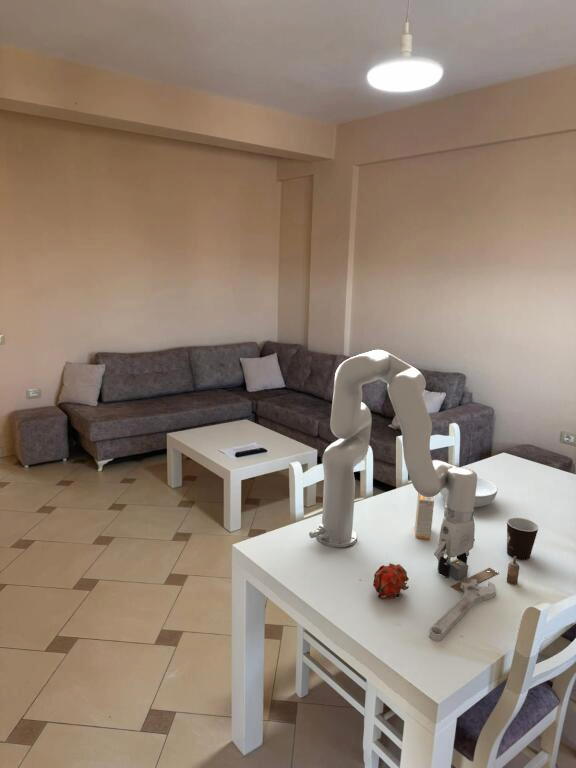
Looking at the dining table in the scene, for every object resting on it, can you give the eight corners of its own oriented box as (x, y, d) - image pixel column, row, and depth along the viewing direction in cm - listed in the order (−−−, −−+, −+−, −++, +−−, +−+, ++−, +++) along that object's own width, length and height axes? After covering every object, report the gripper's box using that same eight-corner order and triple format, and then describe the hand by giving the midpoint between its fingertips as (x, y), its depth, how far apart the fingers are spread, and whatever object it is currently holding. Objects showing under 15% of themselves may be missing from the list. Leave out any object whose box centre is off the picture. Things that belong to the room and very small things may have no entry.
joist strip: (459, 592, 143) (459, 591, 143) (450, 586, 145) (450, 586, 145) (498, 573, 152) (498, 572, 152) (489, 568, 155) (489, 567, 154)
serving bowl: (500, 498, 201) (503, 481, 200) (487, 520, 184) (490, 501, 183) (445, 485, 212) (447, 468, 211) (428, 504, 195) (430, 486, 193)
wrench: (417, 624, 126) (470, 572, 148) (416, 631, 127) (469, 578, 149) (449, 642, 121) (499, 585, 143) (448, 648, 122) (498, 591, 144)
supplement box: (430, 539, 169) (434, 501, 166) (415, 537, 170) (418, 499, 167) (429, 527, 177) (433, 490, 174) (414, 525, 178) (418, 488, 175)
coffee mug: (531, 565, 157) (536, 534, 154) (500, 556, 161) (504, 525, 159) (537, 548, 166) (541, 518, 164) (507, 540, 171) (511, 511, 168)
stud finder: (457, 582, 147) (459, 567, 146) (437, 570, 153) (438, 555, 152) (466, 578, 150) (468, 563, 149) (446, 566, 155) (448, 552, 154)
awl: (513, 585, 146) (517, 560, 145) (504, 580, 149) (507, 555, 147) (519, 582, 148) (522, 557, 146) (510, 577, 150) (513, 553, 148)
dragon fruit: (404, 589, 146) (380, 615, 138) (382, 564, 149) (357, 588, 140) (421, 575, 140) (398, 602, 132) (398, 549, 143) (373, 574, 135)
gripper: (449, 526, 139) (442, 587, 143) (490, 510, 149) (482, 568, 153) (426, 514, 145) (420, 574, 149) (467, 500, 155) (460, 556, 159)
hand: (452, 570), depth 151 cm, fingers open, 6 cm apart
